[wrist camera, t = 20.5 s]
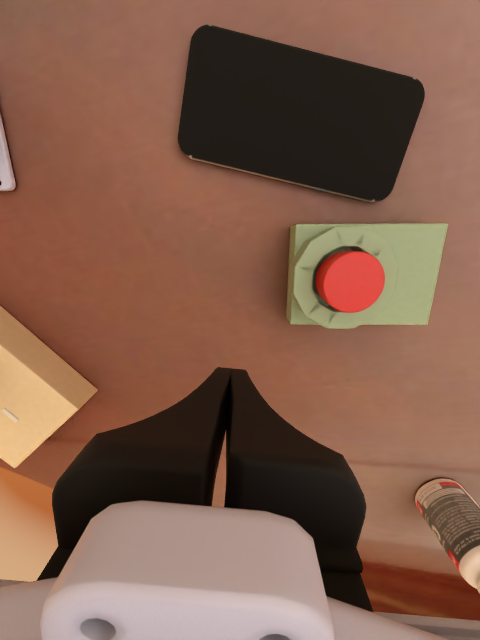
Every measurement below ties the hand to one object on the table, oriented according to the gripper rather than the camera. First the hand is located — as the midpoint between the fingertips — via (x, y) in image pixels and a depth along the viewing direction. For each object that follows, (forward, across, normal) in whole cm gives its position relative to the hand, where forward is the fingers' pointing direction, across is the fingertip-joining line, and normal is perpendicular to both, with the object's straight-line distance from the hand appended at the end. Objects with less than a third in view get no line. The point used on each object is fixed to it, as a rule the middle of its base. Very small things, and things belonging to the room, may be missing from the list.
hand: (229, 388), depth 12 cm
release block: (+10, -9, -5) cm, 14 cm away
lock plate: (+10, +20, +7) cm, 23 cm away
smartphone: (+10, -3, -14) cm, 18 cm away
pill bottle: (+11, -22, +16) cm, 29 cm away
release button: (+7, -7, -5) cm, 11 cm away
